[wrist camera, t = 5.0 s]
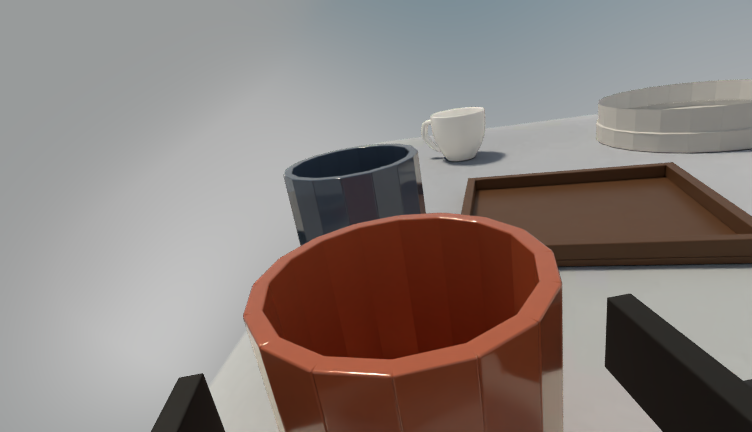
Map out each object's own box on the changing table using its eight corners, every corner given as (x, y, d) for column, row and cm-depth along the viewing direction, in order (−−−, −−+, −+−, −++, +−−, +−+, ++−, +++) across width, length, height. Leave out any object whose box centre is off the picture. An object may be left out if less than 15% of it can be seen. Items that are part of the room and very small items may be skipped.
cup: (475, 164, 58) (471, 115, 55) (413, 164, 63) (407, 119, 61) (495, 150, 63) (492, 105, 61) (436, 151, 69) (431, 110, 67)
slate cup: (298, 333, 27) (258, 185, 23) (340, 270, 34) (315, 150, 31) (425, 338, 24) (401, 172, 21) (441, 269, 32) (425, 138, 28)
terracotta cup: (281, 633, 12) (172, 363, 9) (361, 413, 20) (317, 219, 16) (584, 715, 10) (592, 389, 7) (546, 431, 17) (541, 206, 14)
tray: (456, 268, 31) (454, 248, 31) (469, 192, 47) (468, 178, 46) (779, 263, 26) (784, 237, 25) (671, 178, 41) (672, 162, 41)
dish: (825, 151, 41) (836, 100, 40) (581, 154, 54) (581, 115, 52) (789, 110, 58) (795, 73, 56) (608, 120, 71) (609, 89, 69)
